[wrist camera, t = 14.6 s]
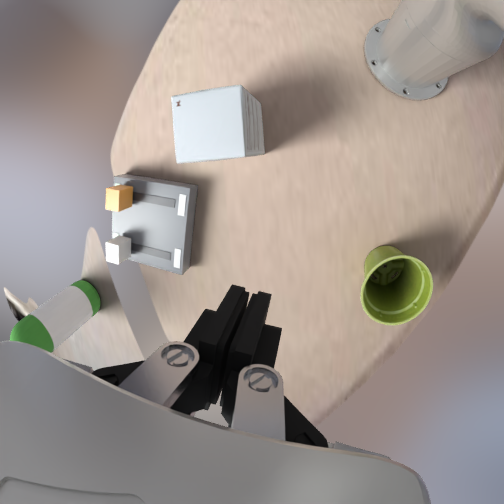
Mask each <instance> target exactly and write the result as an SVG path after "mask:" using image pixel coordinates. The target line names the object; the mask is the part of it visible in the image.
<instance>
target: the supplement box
mask: <svg viewBox="0 0 504 504" xmlns="http://www.w3.org/2000/svg"><path fill="white" fill-rule="evenodd" d="M171 100H172V112H173V127H174V140H175V152H176V161H177V163H192V162H205V161H215V160H225V159H234V158H241V157H249V156H258V155H264V154H265V149H264V135H263V121H262V108H261V103H260V102H259V101H258V100H257V99H255V98H254V97H253V96H252V95H251V94H250V93H249V92H248V91H247V90H246V89H245V88H244V87H243V86H242V85H234V86H227V87H220V88H214V89H207V90H200V91H196V92H191V93H185V94H180V95H175V96H172V97H171Z"/></svg>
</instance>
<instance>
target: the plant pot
mask: <svg viewBox="0 0 504 504" xmlns="http://www.w3.org/2000/svg"><path fill="white" fill-rule="evenodd" d="M384 265H387V266H386V268H384V267H383V266H384ZM364 272H365V279H364V281H363V284H362V287H361V304H362V307H363V309H364V311H365V312H366V314H367V315H368V316H369V317H370V318H371V319H373V320H374V321H376V322H378V323H381V324H384V325H400V324H403V323H406V322H408V321H410V320H412V319H414V318H415V317H417V316H418V315H419V314H420V313H421V312H422V311H423V310H424V309H425V307H426V306H427V304H428V302H429V300H430V298H431V295H432V290H433V279H432V275H431V273H430V271H429V269H428V267H427V266H426V265H425V264H424V263H423V262H422V261H421V260H419V259H417V258H415V257H412V256H408V255H404V254H403V253H402V252H400V251H399V250H398V249H396V248H395V247H392V246H380V247H377V248H375V249H374V250H372V251H371V252H370V254H369V255H368V256H367V258H366V261H365V265H364ZM396 272H398V273H397V275H396V276H395V277H394V278H391V277H392V276H393V275H394V274H395V273H396ZM371 274H373V275H374V276H375V277H376V278H377V279H373V278H372V277H371Z"/></svg>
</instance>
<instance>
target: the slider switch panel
mask: <svg viewBox="0 0 504 504" xmlns="http://www.w3.org/2000/svg"><path fill="white" fill-rule="evenodd" d="M117 185H126V186H132V187H133V199H132V207H130V208H127V209H125V210H122V211H120V212H116V211H112V239H113V238H115V237H117V236H119V235H120V236H124V237H128V238H131V257H129V258H128V259H127V260H131V261H134V262H138V263H141V264H145V265H148V266H152V267H155V268H159V269H162V270H166V271H169V272H173V273H177V274H180V275H182V274H183V273H184V272H185V271H186V270H187V269H188V268H189V267H190V256H191V246H192V236H193V226H194V217H195V208H196V200H197V192H198V185H193V184H187V183H181V182H175V181H169V180H162V179H156V178H149V177H143V176H136V175H128V174H123V175H118V176H114V184H113V186H117Z"/></svg>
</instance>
